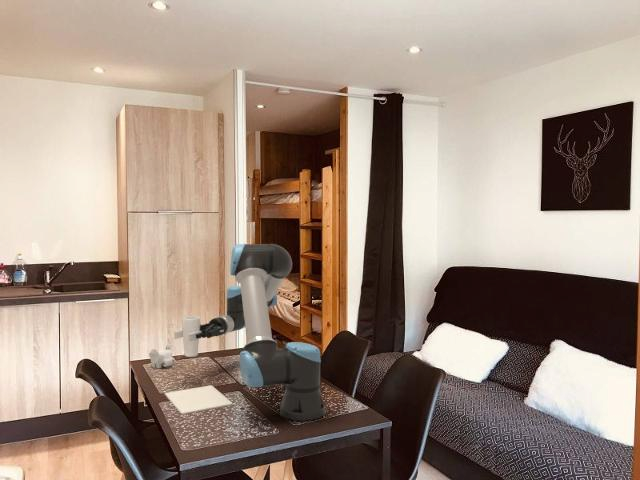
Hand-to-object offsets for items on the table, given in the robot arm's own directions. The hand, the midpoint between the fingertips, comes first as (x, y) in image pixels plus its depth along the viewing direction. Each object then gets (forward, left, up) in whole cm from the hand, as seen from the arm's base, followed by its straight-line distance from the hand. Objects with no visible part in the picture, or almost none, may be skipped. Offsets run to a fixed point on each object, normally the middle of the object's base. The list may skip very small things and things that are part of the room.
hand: (181, 336), depth 191 cm
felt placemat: (-15, -1, -20) cm, 25 cm away
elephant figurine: (+31, 0, -20) cm, 37 cm away
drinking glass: (+3, -4, -9) cm, 10 cm away
